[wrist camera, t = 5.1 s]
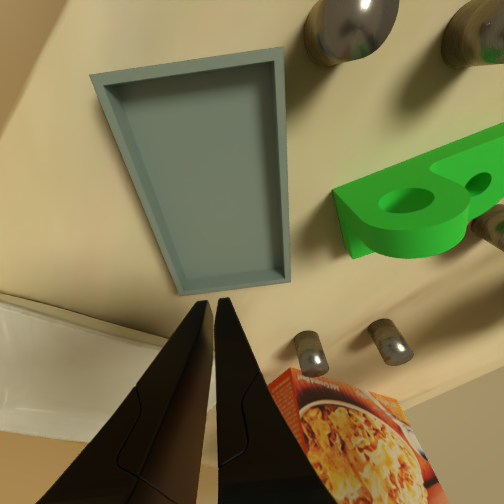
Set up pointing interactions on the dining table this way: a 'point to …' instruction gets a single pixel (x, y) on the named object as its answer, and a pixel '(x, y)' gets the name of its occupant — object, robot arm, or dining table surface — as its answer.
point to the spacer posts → (363, 44)
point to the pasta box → (356, 441)
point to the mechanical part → (423, 198)
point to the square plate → (68, 369)
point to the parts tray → (208, 164)
